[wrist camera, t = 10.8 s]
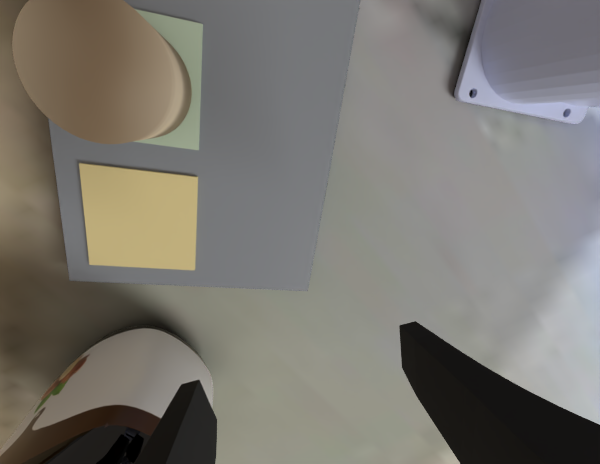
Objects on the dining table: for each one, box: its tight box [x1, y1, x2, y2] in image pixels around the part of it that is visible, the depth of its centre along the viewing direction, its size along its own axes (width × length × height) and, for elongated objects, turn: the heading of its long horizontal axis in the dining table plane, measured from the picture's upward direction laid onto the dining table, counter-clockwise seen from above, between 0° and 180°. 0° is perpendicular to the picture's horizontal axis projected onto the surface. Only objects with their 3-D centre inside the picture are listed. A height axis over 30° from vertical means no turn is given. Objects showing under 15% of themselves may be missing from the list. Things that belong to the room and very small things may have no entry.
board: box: [48, 0, 360, 291], centre depth 15 cm, size 14×22×1 cm, turn 171°
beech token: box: [12, 0, 192, 144], centre depth 12 cm, size 5×5×4 cm
